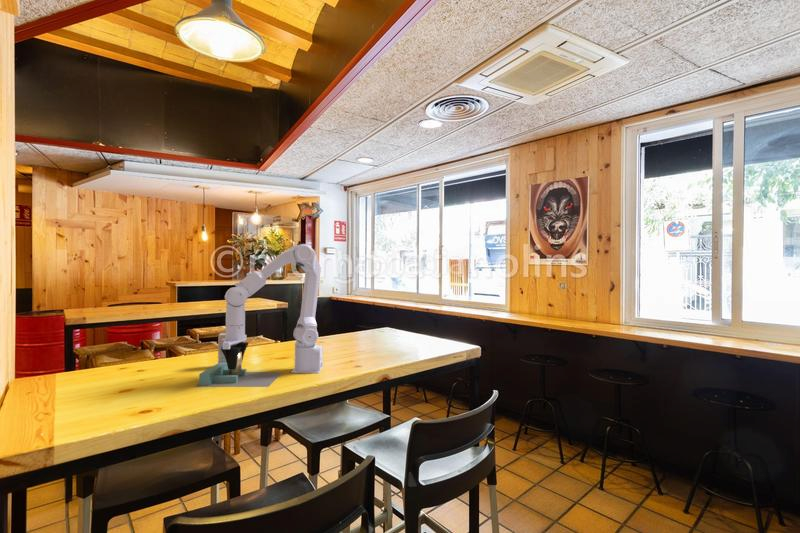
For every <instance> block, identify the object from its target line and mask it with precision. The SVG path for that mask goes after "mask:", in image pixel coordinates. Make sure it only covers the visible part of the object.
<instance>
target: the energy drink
mask: <svg viewBox="0 0 800 533" xmlns="http://www.w3.org/2000/svg"><path fill="white" fill-rule="evenodd" d="M223 338H226V332H221V333H219V334H218V338H217V339H218V340H217V344H218V345H217V364H218V363H219V362H226V358H225V356H224V354H223V352H222V351H221V347H223V343H224V341H222V339H223Z"/></svg>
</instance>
